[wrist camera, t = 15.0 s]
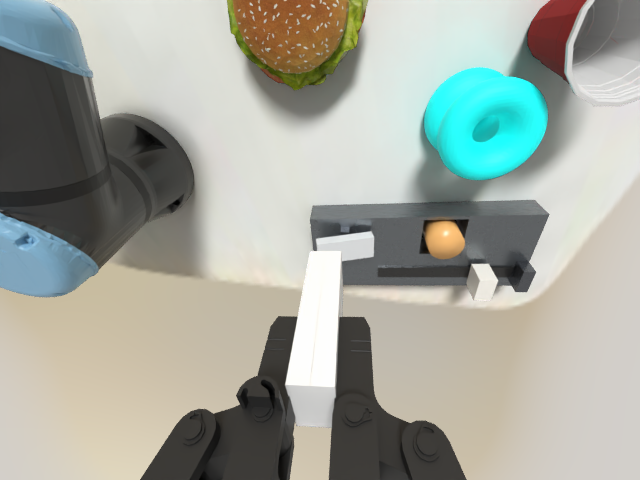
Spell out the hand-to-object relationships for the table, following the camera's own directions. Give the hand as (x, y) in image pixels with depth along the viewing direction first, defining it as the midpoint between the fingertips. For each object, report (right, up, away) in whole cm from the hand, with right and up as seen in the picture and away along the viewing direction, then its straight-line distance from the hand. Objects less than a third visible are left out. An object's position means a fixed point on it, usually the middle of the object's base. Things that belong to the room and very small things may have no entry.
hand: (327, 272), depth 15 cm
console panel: (+15, +2, +33) cm, 37 cm away
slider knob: (+24, -4, +31) cm, 39 cm away
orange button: (+18, +4, +30) cm, 35 cm away
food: (-2, +27, +17) cm, 32 cm away
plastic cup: (+25, +24, +17) cm, 38 cm away
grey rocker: (+3, +1, +28) cm, 28 cm away
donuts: (+18, +18, +22) cm, 33 cm away
